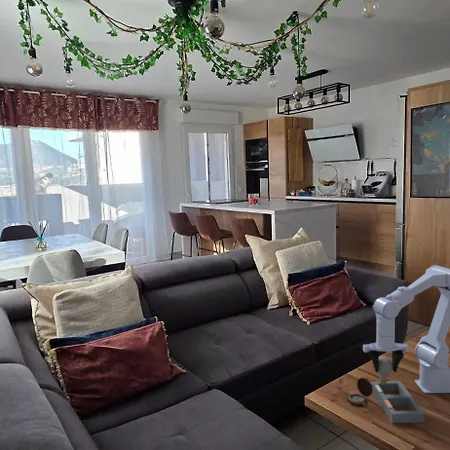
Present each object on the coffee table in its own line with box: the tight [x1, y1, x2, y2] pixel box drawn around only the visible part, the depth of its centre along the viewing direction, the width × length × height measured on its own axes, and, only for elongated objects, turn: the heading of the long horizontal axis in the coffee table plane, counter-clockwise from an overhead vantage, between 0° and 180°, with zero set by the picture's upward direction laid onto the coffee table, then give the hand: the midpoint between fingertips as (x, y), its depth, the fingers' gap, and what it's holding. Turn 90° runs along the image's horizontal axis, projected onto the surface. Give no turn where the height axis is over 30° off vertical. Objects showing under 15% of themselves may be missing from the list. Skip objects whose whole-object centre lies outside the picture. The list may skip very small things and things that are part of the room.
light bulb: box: [377, 356, 393, 385], centre depth 133 cm, size 6×6×10 cm
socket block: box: [371, 380, 426, 424], centre depth 129 cm, size 10×19×3 cm, turn 177°
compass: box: [347, 377, 373, 408], centre depth 131 cm, size 8×8×7 cm
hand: (385, 370), depth 132 cm, fingers closed on light bulb, 5 cm apart
